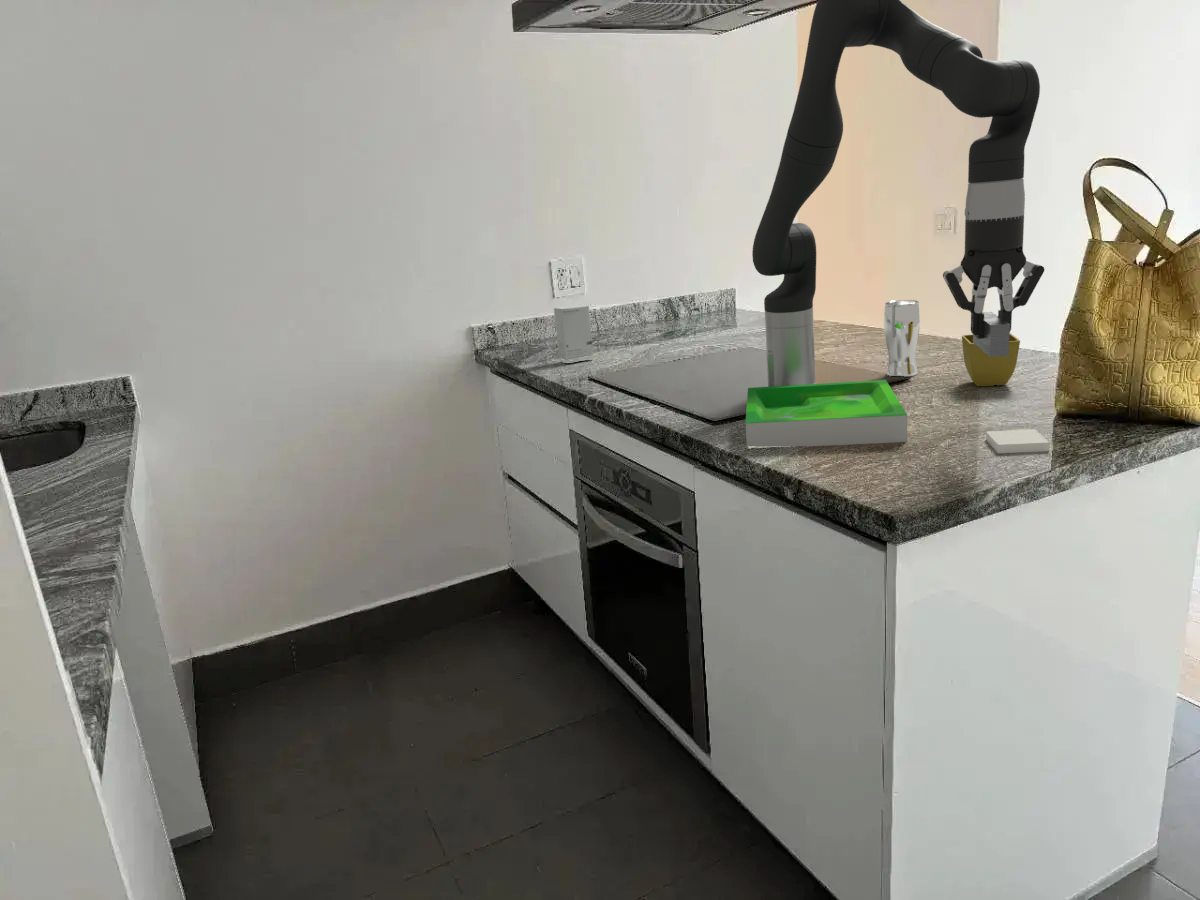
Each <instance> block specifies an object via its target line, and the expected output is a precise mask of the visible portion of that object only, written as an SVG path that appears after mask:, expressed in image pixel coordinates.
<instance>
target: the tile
mask: <svg viewBox="0 0 1200 900" xmlns="http://www.w3.org/2000/svg"><path fill="white" fill-rule="evenodd" d="M985 440H987V441H986V442H987V443H988V444H989V445H990V446H991V447H992V449H993V450H994V451H995V452H996V453H997V454H1011V453H1014V454H1015V453H1035V452H1050V445H1051V444H1050V443H1051V442H1050V441H1049V440H1048V439H1046V437H1044V436H1043V435H1042V434H1041V433H1040V432H1039V431H1038V430H1036V428H1034V429H1033V428H1032V429H1017V430H1016V429H1011V430H1009V429H1008V430H993V431H989V430H988V431H985Z"/></svg>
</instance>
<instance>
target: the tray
mask: <svg viewBox="0 0 1200 900" xmlns="http://www.w3.org/2000/svg"><path fill="white" fill-rule="evenodd" d="M746 394H747V397H746V412H745V413H746V414H745V436H746V437H745V438H746V447H747V446H807V447H823V446H824V447H825V446H846V445H848V446H849V445H868V444H891V443H908V413H907V412H906V410H905V408H904V407H903V405H902V404H901V402H900V401H899V399H898V397H897V395H896V394H895V393H894V391H893V388H892V387H891V386H890V385H889V383H888V381H887V380H886V379H878V380H877V379H876V380H875V379H874V380H860V381H843V382H841V381H840V382H825V383H816V384H806V385H789V386H772V387H768V386H756V387H748V388H747V393H746Z"/></svg>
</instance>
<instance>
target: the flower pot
mask: <svg viewBox="0 0 1200 900" xmlns="http://www.w3.org/2000/svg"><path fill="white" fill-rule="evenodd" d="M961 341H962V352H963V360H964V365H965V369H966V371H967V373H968V376H969V377H970V379H971V381H972V382H973V383H974V384H975V386H976V387H979V386H982V387H990V386H991V387H993V386H994V385H997V386H1000V385H1002V386H1006V385H1007V383H1008V382H1009V381H1010V380H1011V378H1012V376H1013V374H1014V372H1015V370H1016V366H1017V362H1018V358H1019V357H1018V356H1019V351H1020V344H1021V340H1020V339H1019V338H1017V337H1016V336H1015V335H1013V334H1012V333H1011V332H1010V337H1009V356H998V357H989V356H988V355H987V354H986V353H985V352H983V351H982V350H981V349H980V348H979V347H978V346H976V345H975V344H974V343H973V334H964V335H961Z"/></svg>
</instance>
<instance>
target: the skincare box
mask: <svg viewBox="0 0 1200 900" xmlns="http://www.w3.org/2000/svg"><path fill="white" fill-rule="evenodd" d="M553 313H554V323H555V331H556V342H557V352H558V359H559V358H562V359H565V360H568V359H574V358H579V357H584V356H591V355H593V356H594V353H593V342H592V341H593V340H592V329H591V316H590V307H589V305H585V304H578V305H567V306H560V307H554V308H553Z"/></svg>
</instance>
